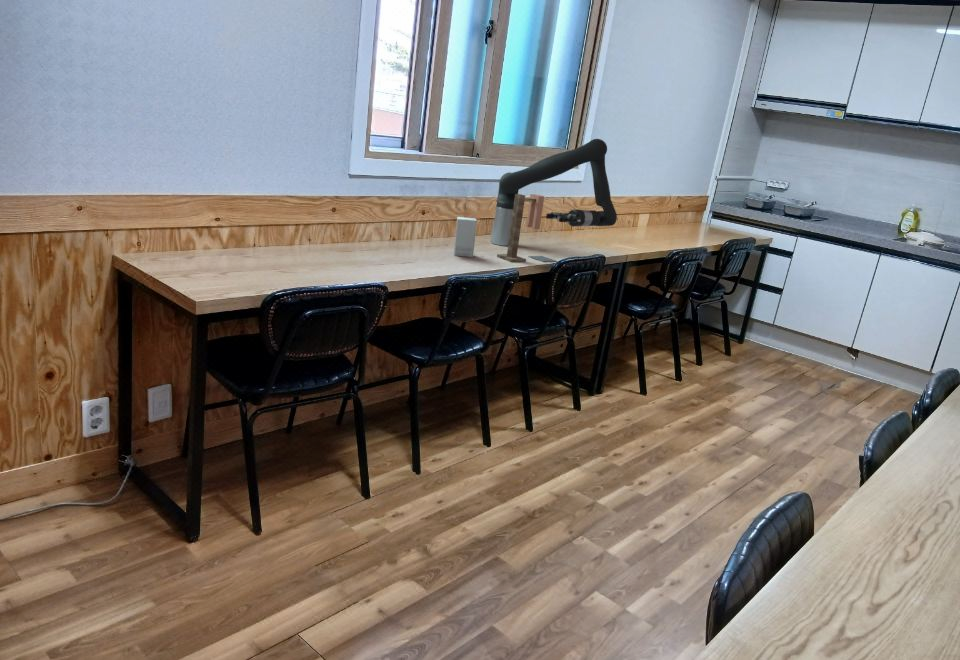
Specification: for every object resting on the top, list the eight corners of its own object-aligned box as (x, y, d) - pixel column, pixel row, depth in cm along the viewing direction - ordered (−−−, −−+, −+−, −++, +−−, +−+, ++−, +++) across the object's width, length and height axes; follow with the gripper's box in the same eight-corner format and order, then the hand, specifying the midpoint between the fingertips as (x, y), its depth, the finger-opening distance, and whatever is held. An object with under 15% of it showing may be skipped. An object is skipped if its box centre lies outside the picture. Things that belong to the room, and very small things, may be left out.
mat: (528, 256, 327) (528, 256, 327) (541, 256, 332) (541, 255, 332) (543, 262, 320) (543, 261, 320) (556, 261, 325) (556, 260, 325)
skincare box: (472, 254, 315) (477, 218, 311) (473, 257, 309) (477, 220, 305) (453, 252, 315) (457, 216, 310) (453, 255, 308) (457, 218, 304)
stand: (496, 256, 318) (505, 192, 310) (526, 256, 328) (535, 193, 321) (511, 262, 310) (520, 196, 303) (541, 261, 321) (551, 197, 313)
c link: (525, 226, 320) (530, 194, 316) (531, 226, 322) (535, 194, 318) (534, 229, 316) (539, 196, 312) (539, 229, 317) (544, 196, 313)
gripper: (570, 207, 338) (543, 206, 328) (592, 212, 327) (565, 211, 317) (568, 223, 340) (541, 223, 330) (589, 229, 329) (562, 229, 319)
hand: (553, 217), depth 324 cm, fingers open, 8 cm apart
